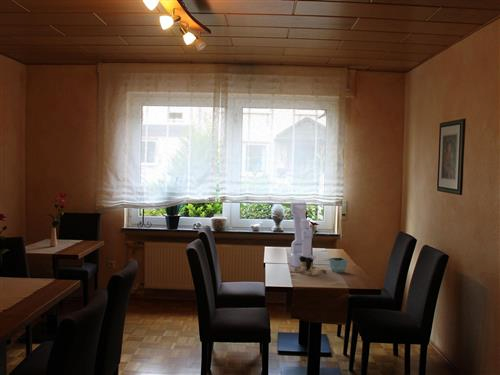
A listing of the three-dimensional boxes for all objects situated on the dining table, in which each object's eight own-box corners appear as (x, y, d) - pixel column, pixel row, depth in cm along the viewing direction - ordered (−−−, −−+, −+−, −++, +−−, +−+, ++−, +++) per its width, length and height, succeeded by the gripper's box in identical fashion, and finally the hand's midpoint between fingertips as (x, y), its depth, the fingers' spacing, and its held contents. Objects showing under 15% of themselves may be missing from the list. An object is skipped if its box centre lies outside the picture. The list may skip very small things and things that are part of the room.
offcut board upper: (309, 272, 299) (309, 270, 299) (316, 270, 304) (316, 268, 304) (314, 273, 296) (314, 271, 296) (321, 271, 302) (321, 269, 302)
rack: (294, 273, 304) (294, 268, 304) (310, 270, 313) (310, 266, 313) (310, 277, 293) (310, 272, 293) (326, 274, 302) (326, 270, 302)
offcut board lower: (306, 273, 299) (306, 271, 299) (317, 271, 305) (317, 270, 305) (311, 275, 295) (311, 273, 295) (322, 273, 301) (323, 271, 301)
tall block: (299, 271, 304) (299, 262, 304) (309, 270, 310) (309, 260, 309) (302, 272, 302) (302, 263, 302) (312, 270, 308) (312, 261, 308)
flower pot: (334, 274, 303) (335, 260, 303) (328, 271, 312) (329, 257, 311) (347, 274, 306) (347, 260, 305) (341, 271, 314) (341, 257, 314)
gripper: (294, 246, 308) (293, 267, 309) (310, 250, 297) (309, 271, 298) (302, 245, 313) (301, 266, 313) (318, 249, 301) (317, 270, 302)
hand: (306, 268), depth 306 cm, fingers open, 3 cm apart
